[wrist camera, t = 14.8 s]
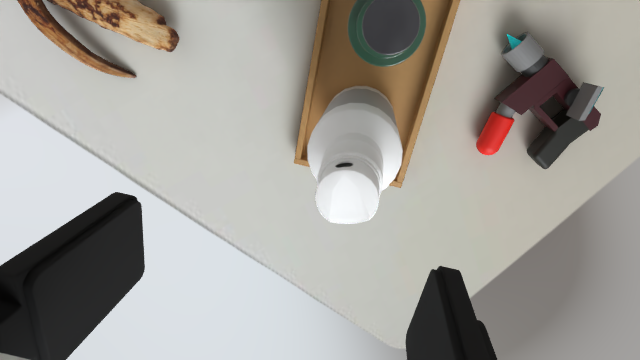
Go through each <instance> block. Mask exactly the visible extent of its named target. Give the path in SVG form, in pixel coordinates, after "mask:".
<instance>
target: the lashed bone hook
mask: <svg viewBox="0 0 640 360" xmlns="http://www.w3.org/2000/svg"><path fill="white" fill-rule="evenodd" d="M17 1H18V2H19V4H20V5H21V7H22V9H23V10H24V12H25V13H26V15H27V16H28V17H29V19H30V20H31V21H32V22H33V24H34V25H35V26H36V27H37V28H38V29H39V30H40V31H41V32H42V33H43V34H44V35H45V36H46V37H47V38H48V39H50V40H51V41H52V42H53V43H54V44H56V45H57V46H58V47H59V48H61V49H62V50H63V51H65V52H66V53H68V54H69V55H71V56H72V57H74V58H75V59H77V60H78V61H80V62H82V63H84V64H85V65H87V66H89V67H92V68H94V69H96V70H99V71H102V72H104V73H108V74H111V75H115V76H120V77H128V78H135V77H136V75H135V74H133V73H132V72H130V71H128V70H125V69H123V68H121V67H119V66H117V65H115V64H113V63H111V62H108V61H107V60H105V59H103V58H101V57H99V56H97V55H96V54H94V53H92V52H91V51H90V50H89V49H87V48H86V47H85V46H84V45H82V44H81V43H80V42H79V41H78V40H76V39H75V38H74V37H73V36H72V35H71V34H69V33H68V32H67V31H66V30H65V29H64V28H63V27H62V26H61V25H60V24H59V23H58V22H57V21H56V20H55V18H54V17H53V16H52V15H51V14H50V12H49V11H48V9H47V8H46V6H45V4H44V3H43V1H42V0H17ZM47 1H49V2H51V3H53V4H55V5H59V6H61V7H62V8H64V9H67V10H69V11H72V12H74V13H75V14H77V15H78V16H80V17H82V18H86V19H87V20H89V21H93V22H95V23H97V24H99V25H100V26H101V27H103V28H105V29H110V30H112V31H114V32H117V33H120V34H123V35H125V36H127V37H129V38H131V39H133V40H135V41H137V42H140V43H143V44H146V45H149V46H152V47H154V48H156V49H159V50H161V49H163V50H166V51H167V52H172V51H173V50H174V49H175V48H176V46H177V43H178V42H179V36H178V34H177V32H176V31H175V29H173V28H171V27H168V26H166V21H165V19H164V17H163V16H161V15H159V14H158V13H156V12H155V11H154V10H153V9H151V8H148V7H146V6H144V5H142V4H141V3H139V2H138V1H137V0H47Z"/></svg>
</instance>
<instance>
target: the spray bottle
mask: <svg viewBox="0 0 640 360" xmlns="http://www.w3.org/2000/svg"><path fill="white" fill-rule="evenodd" d="M307 153H308V163H309V166H310V169H311V172H312V174H313V175H314V177H315V178H316V180H317V189H316V192H315V202H316V205H317V208H318V210H319V212H320V213H321V214H322V216H323V217H324V218H325V219H327V220H328V221H329V222H331V223H340V224H354V223H361V222H364V221H368V220H370V219H371V218H372V217H373V216H374V214H375V213H376V211H377V208H378V206H379V196H380V194H381V191H382V190H384V189H385V188H386V187H387V186H388V185H389V184H390V183H391V182H392V181H393V180H394V179H395V177H396V175H397V173H398V171H399V169H400V167H401V163H402V154H403V149H402V145H401V140H400V136H399V132H398V128H397V124H396V119H395V115H394V111H393V107H392V105H391V103H390V102H389V100H388V98H387V97H386V96H385V95H384V94H382V93H381V92H380V91H379V90H377V89H374V88H371V87H369V86H353V87H350V88H346V89H344V90H343V91H341V92H340V93H338V94H337V95H336V96H335V97H334V98H333V100H332V101H331V102H330V104H329V105H328V107H327V108H326V110H325V112H324V113H323V115H322V117H321V118H320V120H319V121H318V123H317V125H316V126H315V128H314V130H313V131H312V133H311V136H310V139H309V142H308V145H307Z"/></svg>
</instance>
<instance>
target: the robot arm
mask: <svg viewBox="0 0 640 360" xmlns="http://www.w3.org/2000/svg"><path fill="white" fill-rule="evenodd" d="M144 268H145V265H144V246H143V227H142V209H141V203H140V202H138V201H137V198H136V197H135V196H132V195H128V194H123V193H118V192H115V193H113V194H111V195H110V196H108V197H107V198H105V199H103V200H102V201H101V202H99V203H97V204H96V205H94V206H93V207H91V208H89V209H88V210H86V211H85V212H83V213H82V214H80V215H79V216H77V217H75V218H74V219H72V220H71V221H69V222H68V223H66V224H65V225H63V226H61V227H60V228H58V229H57V230H55V231H54V232H52V233H51V234H49V235H48V236H46V237H44V238H43V239H41V240H40V241H38V242H37V243H35V244H33V245H32V246H30V247H29V248H27V249H26V250H24V251H23V252H21V253H19V254H18V255H16V256H15V257H13V258H12V259H10V260H9V261H7V262H5V263H4V264H3V265H1V266H0V360H66V359H67V358H68V357H69V356H70V355H71V353H72V352H73V351H74V350H75V349H76V348H77V347H78V346H79V345H80V344H81V343H82V341H83V340H84V339H85V338H86V337H87V336H88V335H89V334H90V333H91V332H92V331H93V330H94V328H95V327H96V326H97V325H98V324H99V323H100V322H101V321H102V320H103V319H104V318H105V317H106V316H107V314H108V313H109V312H110V311H111V310H112V309H113V308H114V307H115V306H116V305H117V304H118V303H119V301H120V300H121V299H122V298H123V297H124V296H125V295H126V294H127V293H128V292H129V291H130V290H131V289H132V287H133V286H134V285H135V284H136V283H137V282H138V281H139V280H140V279H141V277H142V275H143V273H144ZM406 352H407V360H497V358H496V355H495V352H494V349H493V347H492V344H491V341H490V338H489V336H488V333H487V330H486V328H485V326H484V324H483V323H482V322H481V321H479V320H477V319H476V316H475V313H474V310H473V307H472V304H471V301H470V299H469V296H468V293H467V290H466V287H465V284H464V281H463V278H462V275H461V273H460V271H459V270H456V269H451V268H447V267H442V266H439V267H438V269H437V270H434V269H432V270H431V272H430V274H429V276H428V279H427V282H426V284H425V287H424V289H423V292H422V294H421V297H420V300H419V302H418V305H417V307H416V310H415V313H414V315H413V318H412V320H411V323H410V325H409V328H408V331H407V334H406Z"/></svg>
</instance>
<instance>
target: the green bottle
mask: <svg viewBox="0 0 640 360" xmlns="http://www.w3.org/2000/svg"><path fill="white" fill-rule="evenodd" d="M425 30H426V13H425V9H424V6H423V4H422V2H421V0H357V1H356V2H355V4H354V5H353V7H352V9H351V12H350V15H349V19H348V36H349V40H350V43H351V46H352V48H353V49H354V51H355V52H356V54H357V55H358V56H359V57H360V58H361V59H362V60H364V61H365V62H367V63H369V64H371V65H374V66H379V67H389V66H394V65H397V64H400V63H402V62H403V61H405V60H407V59H408V58H409V57H410V56H411V55H413V54H414V52H415V51H416V50H417V49H418V47H419V46H420V44H421V42H422V40H423V37H424V34H425Z"/></svg>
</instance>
